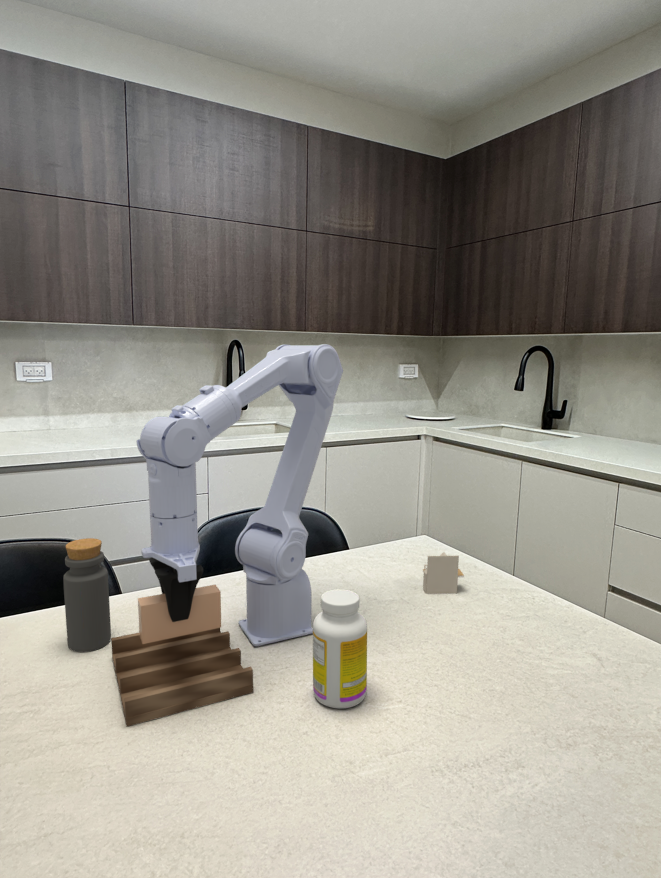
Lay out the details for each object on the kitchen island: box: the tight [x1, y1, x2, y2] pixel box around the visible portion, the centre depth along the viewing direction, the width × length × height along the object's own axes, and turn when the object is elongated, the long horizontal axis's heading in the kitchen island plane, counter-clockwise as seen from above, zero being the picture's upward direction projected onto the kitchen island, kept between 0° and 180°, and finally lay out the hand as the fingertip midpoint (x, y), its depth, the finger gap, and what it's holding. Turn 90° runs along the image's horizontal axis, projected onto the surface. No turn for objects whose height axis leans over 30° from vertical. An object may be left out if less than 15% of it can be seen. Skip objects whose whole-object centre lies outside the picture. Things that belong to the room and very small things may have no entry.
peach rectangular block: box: [137, 584, 222, 644], centre depth 72 cm, size 10×2×5 cm, turn 117°
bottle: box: [62, 537, 112, 653], centre depth 80 cm, size 6×6×15 cm
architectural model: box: [422, 551, 465, 595], centre depth 100 cm, size 3×7×7 cm, turn 94°
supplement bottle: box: [312, 588, 368, 709], centre depth 69 cm, size 7×7×13 cm
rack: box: [110, 628, 254, 727], centre depth 73 cm, size 15×16×3 cm
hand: (177, 614), depth 72 cm, fingers closed on peach rectangular block, 2 cm apart
